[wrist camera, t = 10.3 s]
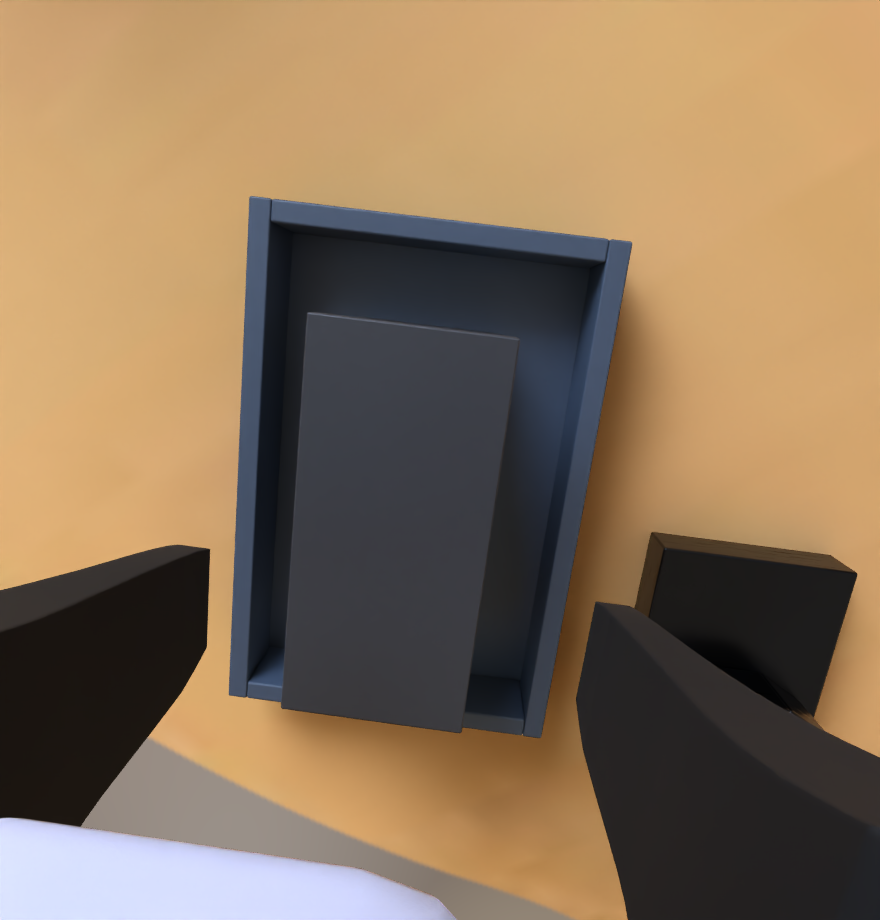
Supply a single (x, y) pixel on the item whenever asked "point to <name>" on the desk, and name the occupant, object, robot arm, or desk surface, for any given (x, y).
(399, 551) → the dark grey block
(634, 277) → the desk surface
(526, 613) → the open rectangular tray
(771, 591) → the panel
